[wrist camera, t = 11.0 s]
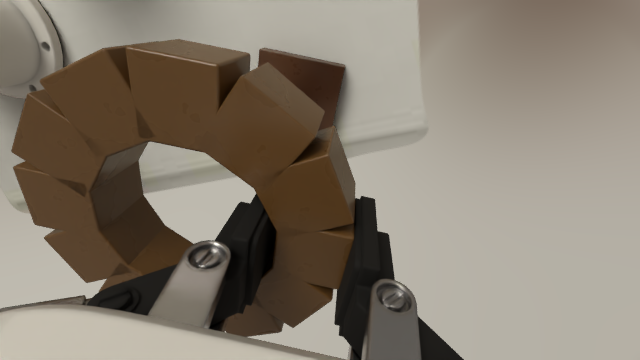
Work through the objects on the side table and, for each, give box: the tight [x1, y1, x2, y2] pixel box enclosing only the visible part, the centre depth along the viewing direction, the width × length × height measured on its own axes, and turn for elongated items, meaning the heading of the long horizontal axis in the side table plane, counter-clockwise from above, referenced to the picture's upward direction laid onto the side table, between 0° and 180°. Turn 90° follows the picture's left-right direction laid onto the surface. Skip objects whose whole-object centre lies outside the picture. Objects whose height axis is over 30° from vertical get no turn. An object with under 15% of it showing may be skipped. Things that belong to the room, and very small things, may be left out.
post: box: [258, 48, 345, 131], centre depth 26 cm, size 8×8×12 cm
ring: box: [11, 39, 355, 337], centre depth 12 cm, size 12×12×3 cm
